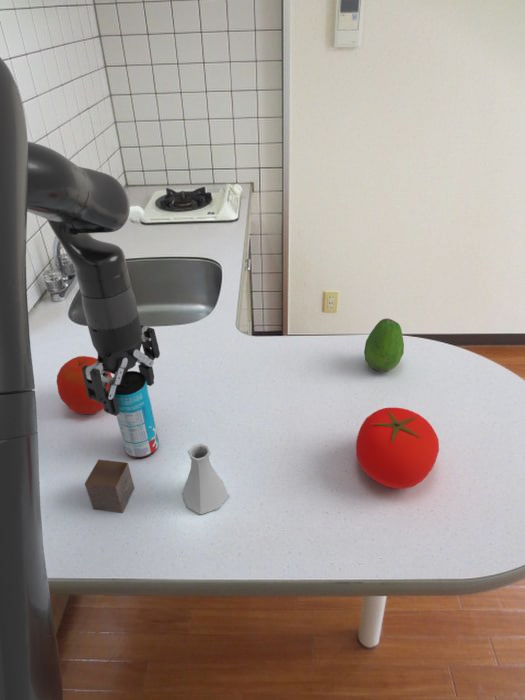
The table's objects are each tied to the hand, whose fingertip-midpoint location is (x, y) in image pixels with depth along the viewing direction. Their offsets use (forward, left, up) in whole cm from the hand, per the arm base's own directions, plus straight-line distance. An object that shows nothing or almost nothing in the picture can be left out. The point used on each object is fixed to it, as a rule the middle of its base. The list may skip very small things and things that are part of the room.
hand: (131, 398), depth 87 cm
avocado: (+42, -29, -12) cm, 53 cm away
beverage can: (0, 0, -12) cm, 12 cm away
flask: (-4, -16, -12) cm, 20 cm away
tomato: (+16, -40, -12) cm, 45 cm away
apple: (+4, +17, -12) cm, 21 cm away
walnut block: (-11, -3, -11) cm, 16 cm away
